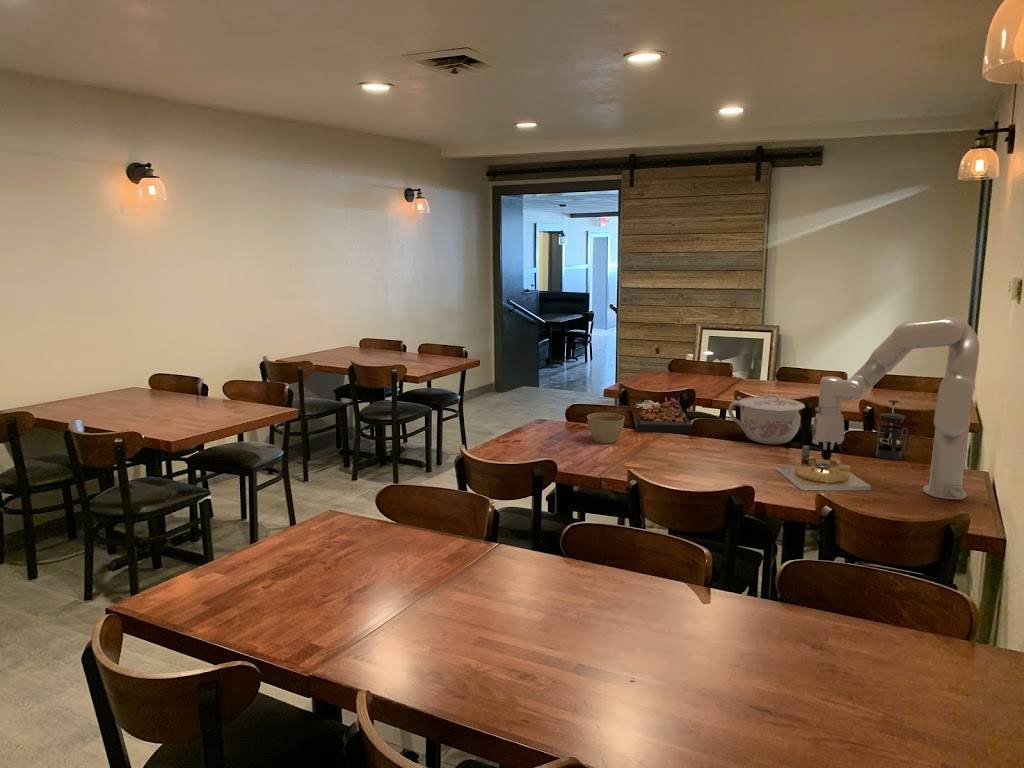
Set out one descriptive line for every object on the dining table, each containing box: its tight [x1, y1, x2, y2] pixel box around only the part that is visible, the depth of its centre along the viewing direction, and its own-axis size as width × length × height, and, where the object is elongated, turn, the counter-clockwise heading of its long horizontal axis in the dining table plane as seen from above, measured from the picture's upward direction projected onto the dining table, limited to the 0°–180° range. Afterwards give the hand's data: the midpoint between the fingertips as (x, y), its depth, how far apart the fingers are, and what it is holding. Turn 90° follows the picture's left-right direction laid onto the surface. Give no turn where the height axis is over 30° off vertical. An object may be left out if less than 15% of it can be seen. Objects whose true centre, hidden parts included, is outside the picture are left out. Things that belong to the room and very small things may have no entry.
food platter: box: [630, 396, 693, 435], centre depth 347 cm, size 45×25×10 cm, turn 174°
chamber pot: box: [727, 393, 806, 446], centre depth 311 cm, size 28×28×21 cm
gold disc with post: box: [794, 444, 851, 483], centre depth 259 cm, size 18×18×9 cm
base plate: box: [775, 465, 872, 492], centre depth 260 cm, size 24×24×2 cm
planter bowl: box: [586, 412, 626, 444], centre depth 311 cm, size 16×16×11 cm
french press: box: [875, 399, 910, 461], centre depth 286 cm, size 12×9×23 cm
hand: (826, 459), depth 265 cm, fingers closed
